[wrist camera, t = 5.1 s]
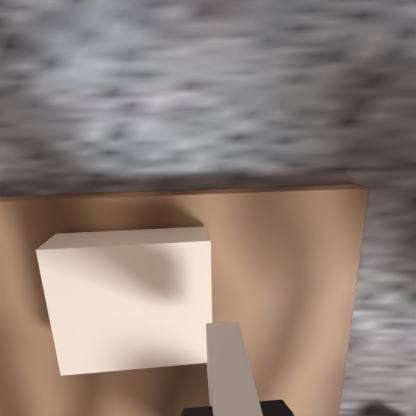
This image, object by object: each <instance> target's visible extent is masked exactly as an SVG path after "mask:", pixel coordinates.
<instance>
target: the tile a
mask: <svg viewBox="0 0 416 416" xmlns="http://www.w3.org/2000/svg"><path fill="white" fill-rule="evenodd" d="M36 254H37V259H38V264H39V269H40V274H41V279H42V284H43V289H44V294H45V299H46V304H47V309H48V314H49V319H50V324H51V329H52V334H53V339H54V344H55V349H56V354H57V359H58V364H59V369H60V374H61V376H64V375H75V374H86V373H98V372H109V371H120V370H131V369H143V368H154V367H165V366H176V365H188V364H199V363H207V345H206V323H212V283H211V240H210V236H209V232H208V229H207V226H204V227H183V228H163V229H142V230H121V231H100V232H80V233H59V234H55V235H54V236H53V237H51V238H50V239H49V240H48V241H46V242H45V243H44V244H43V245H41V246H40V247H39V248H38V249H36Z"/></svg>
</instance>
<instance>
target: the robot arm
mask: <svg viewBox="0 0 416 416" xmlns="http://www.w3.org/2000/svg"><path fill="white" fill-rule="evenodd" d="M206 345H207V376H208V389H209V402H210V406H204V407H192V408H184V409H183V412H182V414H181V416H294V414H293V412H292V411H291V410H290V408H289V407H288V406H287V405H286V403H285V402H284V401H283V400H269V401H259V399H258V395H257V391H256V387H255V383H254V379H253V376H252V372H251V368H250V364H249V360H248V356H247V353H246V349H245V345H244V341H243V337H242V334H241V330H240V326H239V322H238V321H237V322H221V323H206Z"/></svg>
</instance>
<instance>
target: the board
mask: <svg viewBox="0 0 416 416" xmlns="http://www.w3.org/2000/svg"><path fill="white" fill-rule="evenodd" d="M368 195H369V188H366V187H363V186H360V185H357V184H346V185H318V186H290V187H262V188H233V189H205V190H177V191H149V192H120V193H92V194H64V195H36V196H7V197H0V416H181V414H182V412H183V409H184V408H192V407H204V406H210V402H209V389H208V376H207V363H199V364H188V365H176V366H165V367H154V368H143V369H131V370H120V371H109V372H98V373H86V374H75V375H64V376H61V374H60V369H59V364H58V359H57V354H56V349H55V344H54V339H53V334H52V329H51V324H50V319H49V314H48V309H47V304H46V299H45V294H44V289H43V284H42V279H41V274H40V269H39V264H38V259H37V254H36V249H38V248H39V247H40V246H41V245H43V244H44V243H45V242H46V241H48V240H49V239H50V238H51V237H53V236H54V235H55V234H59V233H80V232H100V231H121V230H142V229H163V228H183V227H204V226H207V229H208V232H209V236H210V240H211V283H212V323H221V322H237V321H238V322H239V326H240V330H241V334H242V337H243V341H244V345H245V349H246V353H247V356H248V360H249V364H250V368H251V372H252V376H253V379H254V383H255V387H256V391H257V395H258V399H259V401H269V400H283V401H284V402H285V403H286V405H287V406H288V407H289V408H290V410H291V411H292V412H293V414H294V416H339V412H340V404H341V397H342V389H343V382H344V374H345V367H346V359H347V352H348V345H349V337H350V330H351V322H352V315H353V307H354V300H355V292H356V285H357V277H358V270H359V262H360V255H361V247H362V240H363V232H364V225H365V217H366V210H367V203H368Z"/></svg>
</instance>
